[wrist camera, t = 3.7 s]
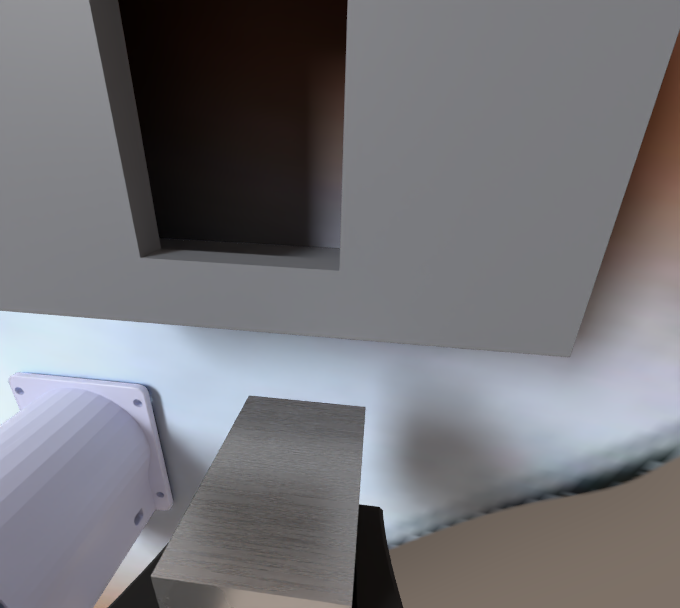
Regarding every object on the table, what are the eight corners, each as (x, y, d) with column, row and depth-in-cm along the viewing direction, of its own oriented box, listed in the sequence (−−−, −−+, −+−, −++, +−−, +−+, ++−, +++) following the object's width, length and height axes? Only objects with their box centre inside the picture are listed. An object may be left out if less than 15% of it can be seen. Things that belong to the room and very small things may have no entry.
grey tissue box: (502, 281, 15) (569, 357, 10) (102, 255, 17) (-37, 307, 11) (591, -115, 10) (829, -419, 5) (16, -96, 12) (-297, -305, 6)
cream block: (355, 541, 13) (340, 756, 8) (260, 528, 13) (195, 730, 9) (365, 407, 10) (352, 606, 6) (249, 395, 11) (150, 576, 6)
